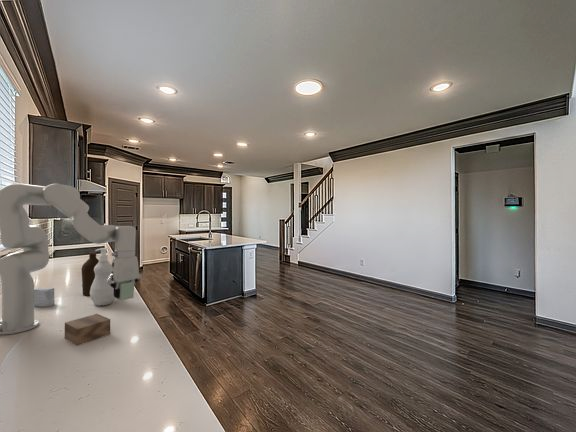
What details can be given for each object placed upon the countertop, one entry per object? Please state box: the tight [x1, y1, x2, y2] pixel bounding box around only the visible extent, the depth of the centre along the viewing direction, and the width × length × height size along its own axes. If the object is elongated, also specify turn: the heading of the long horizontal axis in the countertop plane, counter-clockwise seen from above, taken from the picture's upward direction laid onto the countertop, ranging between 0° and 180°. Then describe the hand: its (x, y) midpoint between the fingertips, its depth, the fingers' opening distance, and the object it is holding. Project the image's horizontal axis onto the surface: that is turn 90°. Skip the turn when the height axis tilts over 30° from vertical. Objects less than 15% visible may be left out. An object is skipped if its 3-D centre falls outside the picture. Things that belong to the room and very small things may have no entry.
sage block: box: [114, 281, 135, 301], centre depth 116 cm, size 5×6×7 cm
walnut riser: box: [64, 313, 111, 347], centre depth 105 cm, size 11×11×6 cm
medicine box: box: [34, 287, 55, 308], centre depth 139 cm, size 8×4×9 cm, turn 84°
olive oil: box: [81, 251, 99, 297], centre depth 159 cm, size 11×11×25 cm
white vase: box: [89, 247, 115, 307], centre depth 143 cm, size 17×12×29 cm
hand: (123, 295), depth 116 cm, fingers closed on sage block, 5 cm apart
